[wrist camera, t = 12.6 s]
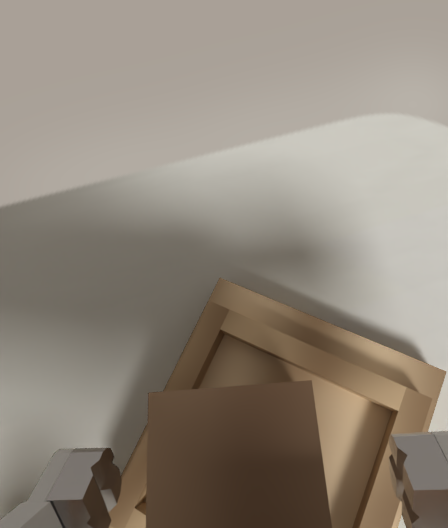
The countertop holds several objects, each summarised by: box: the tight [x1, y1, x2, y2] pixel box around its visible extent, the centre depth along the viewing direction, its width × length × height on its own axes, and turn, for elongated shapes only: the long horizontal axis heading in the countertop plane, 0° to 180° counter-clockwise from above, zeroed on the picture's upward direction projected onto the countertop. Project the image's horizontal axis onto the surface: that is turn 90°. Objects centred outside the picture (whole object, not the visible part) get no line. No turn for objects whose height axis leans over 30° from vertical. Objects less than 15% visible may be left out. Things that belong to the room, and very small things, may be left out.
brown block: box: [146, 380, 332, 528], centre depth 13 cm, size 4×5×9 cm
